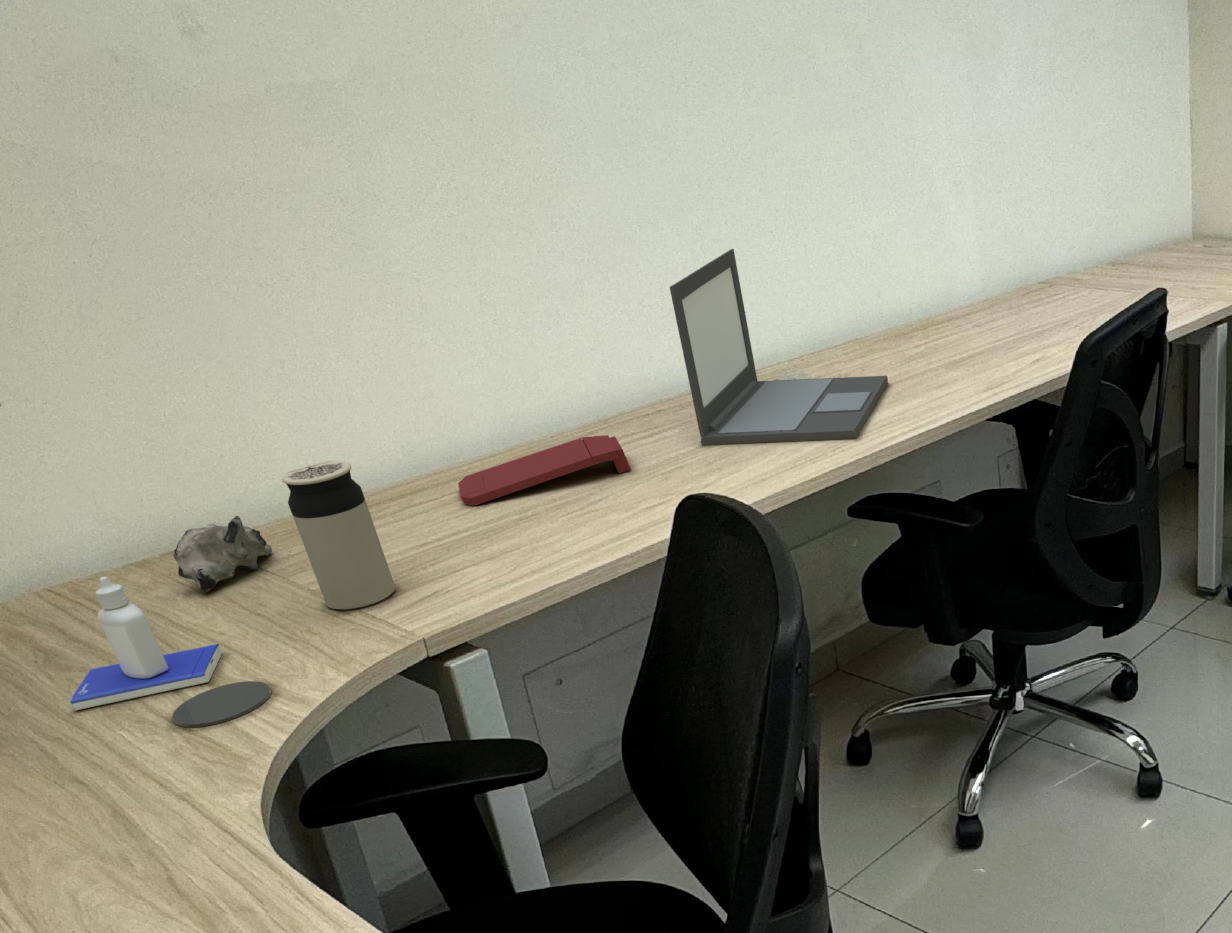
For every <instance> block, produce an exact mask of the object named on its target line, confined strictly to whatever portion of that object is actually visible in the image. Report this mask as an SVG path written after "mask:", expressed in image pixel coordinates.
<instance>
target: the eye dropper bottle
mask: <svg viewBox="0 0 1232 933" xmlns="http://www.w3.org/2000/svg"><path fill="white" fill-rule="evenodd" d="M99 584H100V588H98V589H97V590H96V591H95V592H94V594H95V596H96V599H97V601H98V603H99V605H100V607H101V609H100V610H99V611H98V613H97V620H98V622H99V625H100V627H101V629H102V631H103V633H104V635H105V638H106V639H107V642H108V644H109V646H110V648H111V650H112V653H113V654H114V656H115V659H116V662H117V664H119V665H120V667H121V669H122V671H123V673H124V674H125V675H127V676H129V677H132V678H139V679H146V678H151V677H154V676H156V675H158V674H161V673H163V672H165V671H167V670H168V665H167V662H166V660H165V658H164V656H163V655H164V654H163V651H162V649H161V647H160V645H159V643H158V641H157V638H156V636H155V633H154V632H153V630H152V627H151V625H150V622H149V621H148V619H147V616H146V615H145V613H144V611H143V610H142V609H141V608H140V607H139V606H137V605H136V604H133V603H132V602H130V600H129V598H128V595H127V593H126V590H125V589H124V587H123V585H122V584H115V583H113V582H112V581H111V580H110V578H109V577H108V576H102V577H100V578H99Z"/></svg>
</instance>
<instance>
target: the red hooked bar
mask: <svg viewBox="0 0 1232 933" xmlns="http://www.w3.org/2000/svg"><path fill="white" fill-rule="evenodd" d="M607 461H608V462H609V461H611V462H612V464H613V465H614V467H615V469H616V470H617V472H618V474H623V473H625V472H629V471H631V470H632V468H631V466H630V463H629V460H628V459H627V456H626V454H625V452H624V449H623V447H622V445H621V444H620V442H619V440H618V439H617V437H616V436H611V437H610V436H609V434H608V435H607V434H606V435H605V434H604V435H594V436H593V435H591V436H582V437H578V438H576V439H572V440H569V441H567V442H564V443H560V444H557V445H554V446H552V447H549V448H546V449H543V450H540V451H537V452H534V453H531V454H528V455H525V456H521V457H519V458H516V459H513V460H510V461H506V462H503V463H501V464H498V465H495V466H492V467H488V468H485V469H482V470H480V471H476V472H474V473H471V474H468V475H466V476H465V477H463V478H462V479H461V480H460V481H459V482H457V484H458V485H457V486H458V490H459V496H460V498H461V500H462V502H463V505H468V506H477V505H480V504H484V503H486V502H490V501H492V500H496V499H498V498H501V497H504V496H507V495H510V494H513V493H515V492H518V491H522V490H524V489H527V488H530V487H533V486H536V485H539V484H542V483H545V482H547V481H551V480H553V479H556V478H559V477H562V476H565V475H568V474H571V473H573V472H576V471H580V470H582V469H585V468H589V467H592V466H594V465H597V464H601V463H605V462H607Z"/></svg>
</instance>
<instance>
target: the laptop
mask: <svg viewBox="0 0 1232 933" xmlns="http://www.w3.org/2000/svg"><path fill="white" fill-rule="evenodd" d="M669 292H670V296H671V302H672V306H673V311H674V315H675V320H676V325H677V331H678V336H679V339H680V344H681V349H682V354H683V359H684V364H685V369H686V374H687V378H688V383H689V388H690V394H691V398H692V403H693V408H694V412H695V416H696V417H695V418H696V422H697V428H698V432H699V436H700V444H701V446H716V445H740V444H759V443H760V444H762V443H765V444H766V443H784V442H786V443H787V442H808V441H829V440H830V441H831V440H834V441H835V440H853V439H854V440H855V439H857V438H858V436H859V434H860V432H861V430H862V429H863V427H864V426H865V424H866V422H867V420H868V419H869V417H870V415H871V414H872V412H873V410H874V409H875V407H876V405H877V403H878V401H879V400H880V398H881V396H882V395H883V394H884V391H885V390H886V388H887V386H888V384H889V379H888V375H872V376H871V375H870V376H869V375H868V376H849V377H848V376H846V377H826V378H823V377H822V378H821V377H820V378H801V379H800V378H799V379H779V380H778V379H777V380H758V377H757V376H758V375H757V371H756V366H755V365H756V364H755V359H754V354H753V349H752V342H751V337H750V332H749V327H748V321H747V315H746V310H745V304H744V299H743V298H744V297H743V293H742V287H741V282H740V276H739V271H738V266H737V260H736V254H735V249H734V248H731V249H729V250H727V251H726V252H724V253H722V254H721V255H719V256H717V257H716V258H714V259H713V260H711V261H709V262H708V263H706V264H704V265H703V266H701V267H700V268H697V269H696V270H695V271H693V272H691V273H690V274H688V275H686V276H685V277H683V278H681V279H680V280H679V281H677V282H675V283H673V284H672V285H670V286H669Z"/></svg>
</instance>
